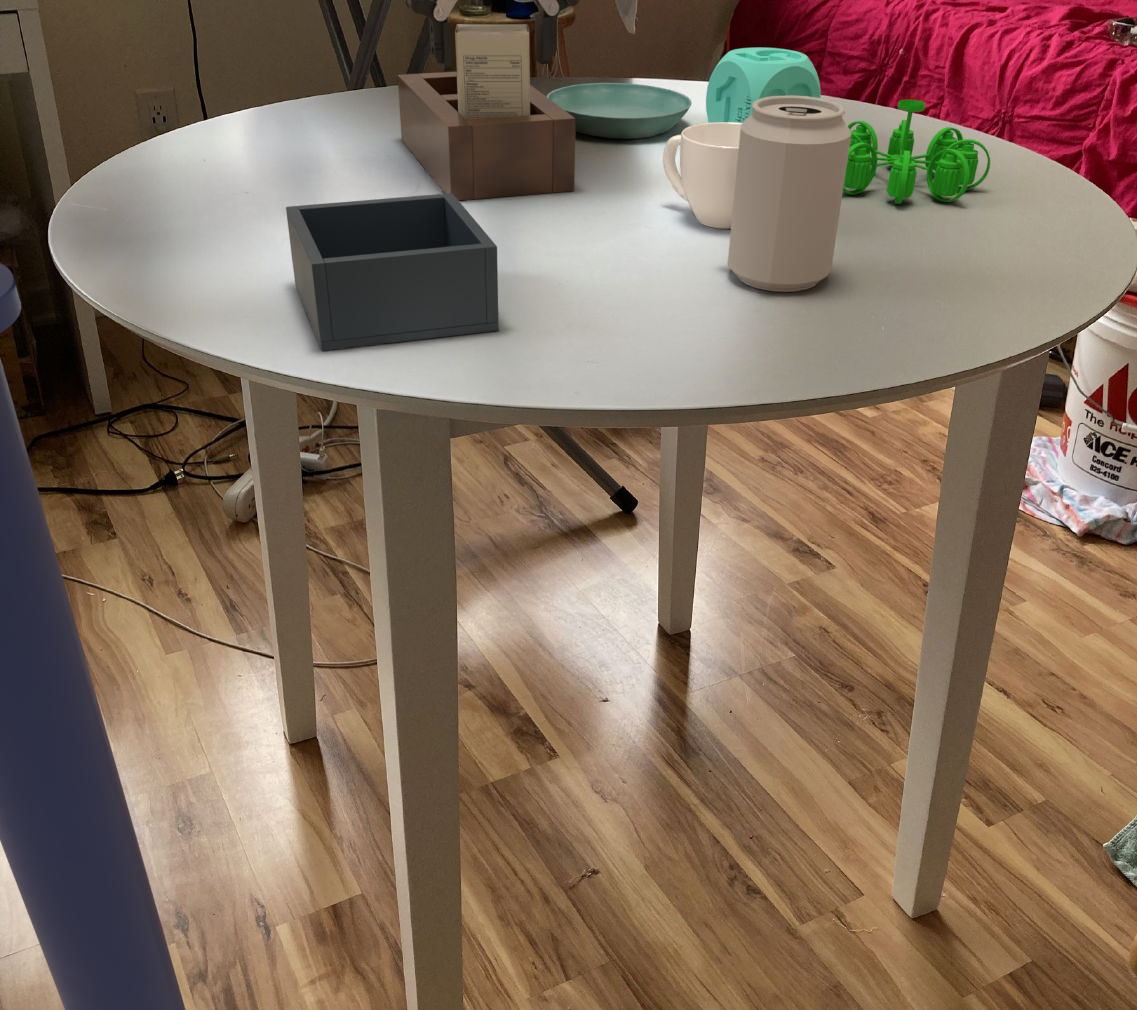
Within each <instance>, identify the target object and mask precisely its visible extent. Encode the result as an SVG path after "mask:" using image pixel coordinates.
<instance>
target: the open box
mask: <svg viewBox="0 0 1137 1010" xmlns="http://www.w3.org/2000/svg"><path fill="white" fill-rule="evenodd" d="M285 213H286V220H287V231H288V236H289V244H290V253H291V260H292V271H293V278H294V286H295V288H296V291H297V294H298V296H299V299H300V300H301V301H300V302H301V303H302V306H303V308H304V311H305V314H306V316H307V318H308V320H309V324H310V326H311V328H312V331H313V333H314V335H315V336H314V337H315V338H316V341H317V343H318V346H319V348H320V350H321V351H331V350H332V351H333V350H340V349H349V348H358V347H368V346H375V345H383V344H393V343H401V342H402V343H403V342H410V341H411V342H412V341H418V340H419V341H420V340H427V339H436V338H445V337H453V336H462V335H472V334H480V333H488V332H489V333H490V332H497V331H499V329H500V327H499V324H500V323H499V273H498V246H497V244H496V243H495V242H494V241H493V240H492V238H491V237H490V236H489V235H488V234H487V233H486V231H485V230H484V229H483V228H482V227H481V226H480V224H479V223H478V222H477V220H476V219H475V218H474V217H473V216H472V214H470V212H469V211H468V210H467V209H466V208H465V206H464V205H463V204H462V202H461V201H460V200H458V199H457V198H456V197H455V196H454V195H453V193H448V194H445V193H438V194H436V193H435V194H425V195H411V196H399V197H387V198H375V199H374V198H373V199H363V200H351V201H339V202H338V201H337V202H327V203H316V204H315V203H314V204H301V205H291V206H285Z"/></svg>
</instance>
